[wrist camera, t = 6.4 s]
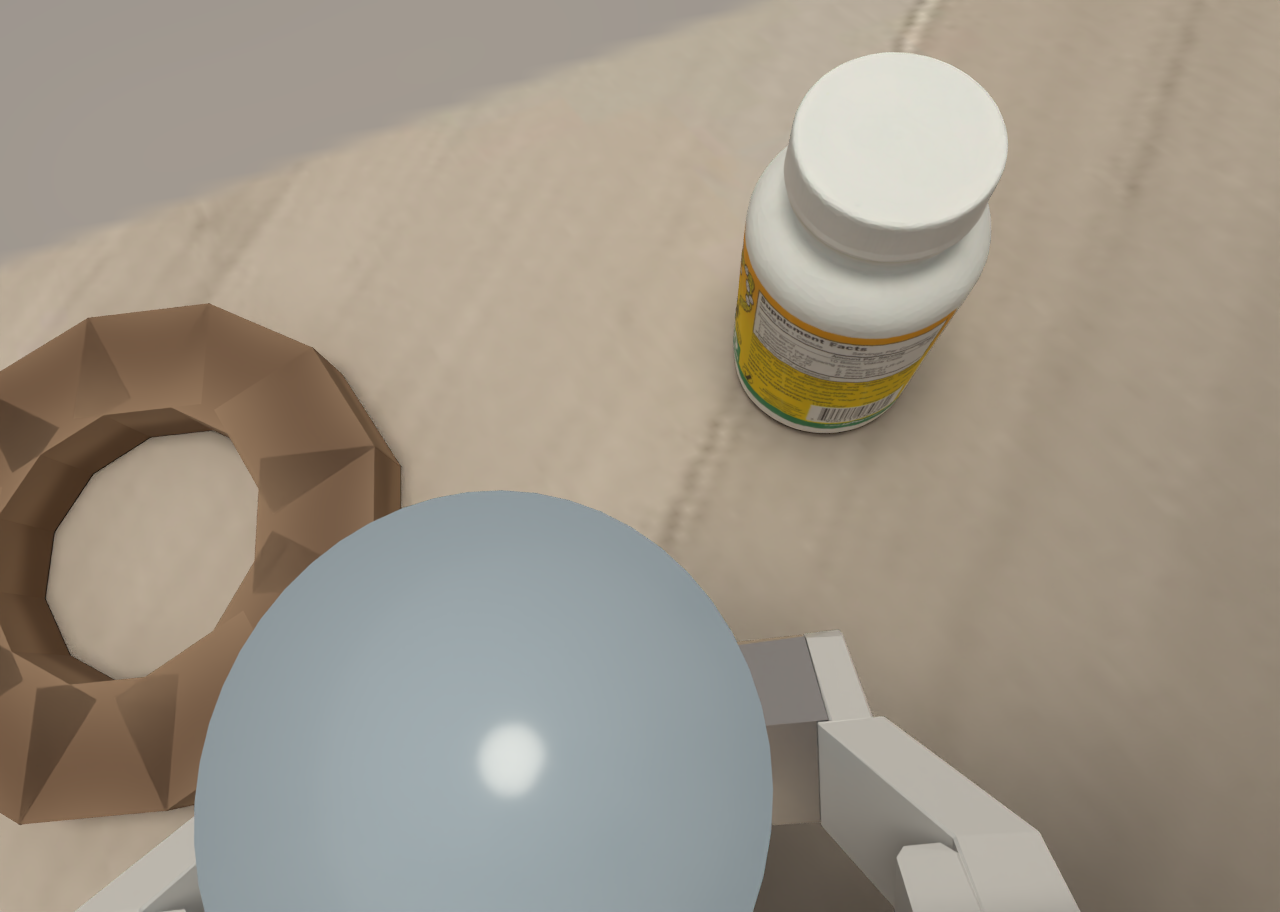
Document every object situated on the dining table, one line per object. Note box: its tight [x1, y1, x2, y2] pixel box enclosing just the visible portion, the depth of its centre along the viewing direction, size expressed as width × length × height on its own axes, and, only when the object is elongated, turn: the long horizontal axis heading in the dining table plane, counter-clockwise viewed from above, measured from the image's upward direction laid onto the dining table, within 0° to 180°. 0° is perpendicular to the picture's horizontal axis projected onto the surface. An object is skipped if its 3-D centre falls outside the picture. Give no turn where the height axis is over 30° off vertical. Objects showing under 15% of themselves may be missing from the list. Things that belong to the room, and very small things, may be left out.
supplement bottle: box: [733, 52, 1008, 433], centre depth 19 cm, size 5×5×10 cm
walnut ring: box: [0, 303, 401, 825], centre depth 22 cm, size 14×14×2 cm
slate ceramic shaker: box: [194, 490, 773, 912], centre depth 11 cm, size 5×5×11 cm
